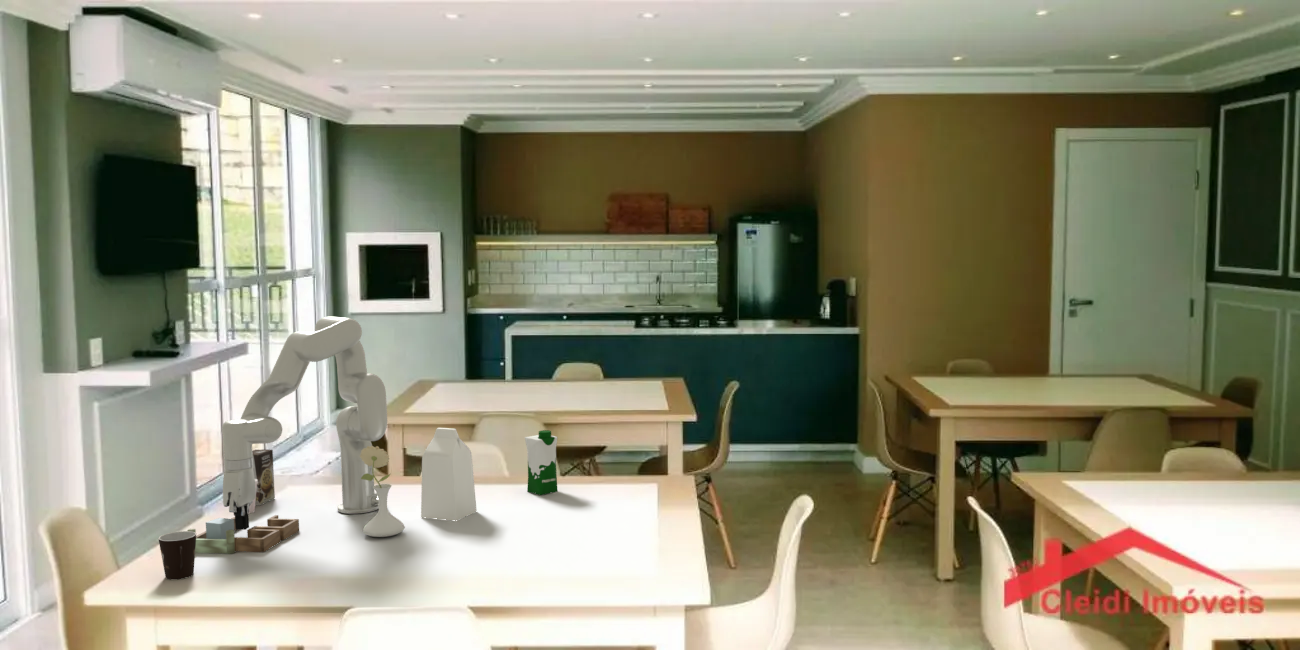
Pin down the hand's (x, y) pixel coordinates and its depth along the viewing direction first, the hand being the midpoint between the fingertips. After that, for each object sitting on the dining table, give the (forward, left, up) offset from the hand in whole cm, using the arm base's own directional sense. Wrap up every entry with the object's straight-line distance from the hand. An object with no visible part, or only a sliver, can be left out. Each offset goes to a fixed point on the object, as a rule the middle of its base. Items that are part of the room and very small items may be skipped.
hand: (242, 528), depth 300 cm
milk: (-51, -27, -2) cm, 58 cm away
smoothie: (+12, -25, -2) cm, 28 cm away
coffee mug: (-3, +36, -2) cm, 36 cm away
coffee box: (+15, -37, -2) cm, 40 cm away
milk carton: (-72, -57, -2) cm, 92 cm away
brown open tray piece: (-4, +4, -2) cm, 6 cm away
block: (+1, +10, -2) cm, 10 cm away
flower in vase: (-39, -5, -2) cm, 39 cm away
